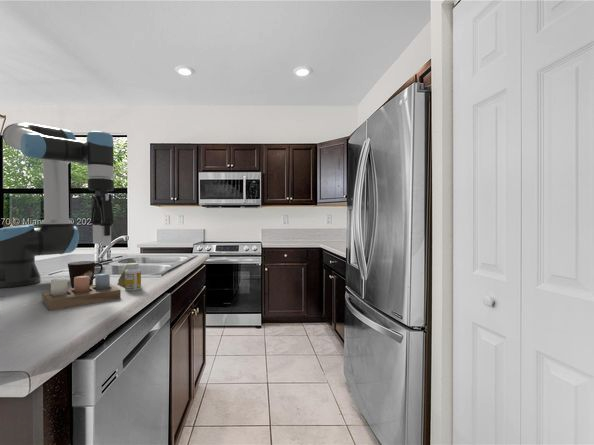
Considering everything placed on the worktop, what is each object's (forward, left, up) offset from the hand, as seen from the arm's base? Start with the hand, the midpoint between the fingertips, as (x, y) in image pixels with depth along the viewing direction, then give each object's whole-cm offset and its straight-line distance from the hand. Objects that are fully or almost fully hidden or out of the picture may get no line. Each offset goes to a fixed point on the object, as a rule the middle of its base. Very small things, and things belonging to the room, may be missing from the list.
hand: (101, 244), depth 110 cm
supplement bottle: (-4, +11, -18) cm, 22 cm away
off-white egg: (0, -12, -15) cm, 19 cm away
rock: (-12, +12, -18) cm, 25 cm away
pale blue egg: (0, 0, -15) cm, 15 cm away
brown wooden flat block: (0, -6, -18) cm, 19 cm away
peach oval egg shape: (0, -6, -15) cm, 16 cm away
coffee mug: (-17, -1, -18) cm, 25 cm away
